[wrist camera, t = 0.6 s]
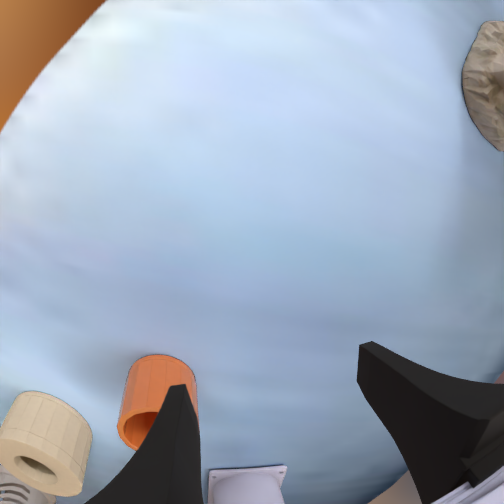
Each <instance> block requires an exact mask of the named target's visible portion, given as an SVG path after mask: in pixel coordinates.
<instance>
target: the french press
mask: <svg viewBox="0 0 504 504" xmlns="http://www.w3.org/2000/svg"><path fill="white" fill-rule="evenodd" d="M3 490H6V491H5V493H4V494H0V498H3V501H0V504H54V503H56V497H55V496H54V495H52V494H48V493H45V492H42V491H40V490H37V489H35V488H33V487H31V486H29V485H27V484H26V483H24V482H22V481H20V480H19V479H18V478H16V477H15V476H14V475H12V474H11V473H10V472H9V471H8V470H7V469H6V468H5V467H4V466H3V465H0V493H1V491H3Z"/></svg>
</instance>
